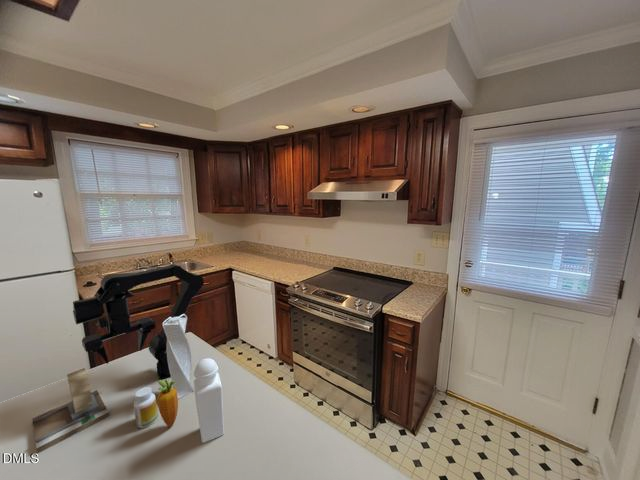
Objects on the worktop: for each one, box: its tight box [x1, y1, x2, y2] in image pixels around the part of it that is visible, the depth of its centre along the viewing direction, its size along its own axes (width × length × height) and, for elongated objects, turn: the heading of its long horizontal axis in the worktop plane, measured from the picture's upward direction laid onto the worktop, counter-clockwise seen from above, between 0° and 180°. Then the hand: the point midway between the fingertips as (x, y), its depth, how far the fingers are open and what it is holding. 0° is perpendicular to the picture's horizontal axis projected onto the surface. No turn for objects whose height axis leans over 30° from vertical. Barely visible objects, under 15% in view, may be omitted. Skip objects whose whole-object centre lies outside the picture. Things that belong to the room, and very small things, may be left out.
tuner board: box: [31, 389, 110, 454], centre depth 79 cm, size 15×15×2 cm
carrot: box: [156, 378, 179, 428], centre depth 75 cm, size 5×5×15 cm
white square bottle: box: [193, 357, 225, 444], centre depth 73 cm, size 6×6×22 cm
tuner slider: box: [66, 367, 99, 421], centre depth 79 cm, size 6×12×12 cm, turn 50°
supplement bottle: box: [133, 386, 159, 429], centre depth 78 cm, size 5×5×10 cm
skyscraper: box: [162, 313, 195, 400], centre depth 88 cm, size 8×8×28 cm
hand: (124, 356), depth 89 cm, fingers open, 9 cm apart
